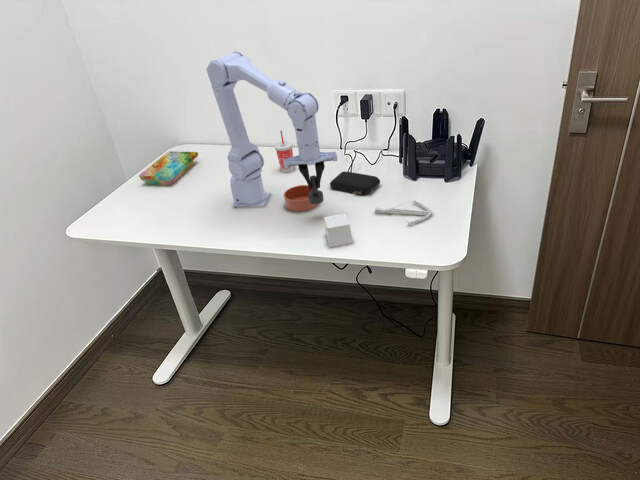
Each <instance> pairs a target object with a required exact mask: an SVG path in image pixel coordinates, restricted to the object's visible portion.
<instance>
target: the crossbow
mask: <svg viewBox="0 0 640 480" xmlns="http://www.w3.org/2000/svg"><path fill="white" fill-rule="evenodd" d="M412 202H413V203H414V204H415V205H417V206H419V207H421V208H422V209H421V210H416V209H405V208H399V207H400V206H403V205H406V204H409V203H412ZM423 209H424V210H423ZM374 213H375V214H388V215H390V214H396V215H397V216H399V217H400V218H402V219H404V220H405V221H406V222H407V225H408V226H410V225H414V224H418V223H420V222H423V221H425V220H427V219H429V218H430V217H431V215H432V211H431V210H430V209H429V208H428V207H427V206H426V205H424V204H422V203H421V202H419V201H417V200H416V199H414V200H411V201H409V202H406V203H403V204H400V205H398V206H394V207H389V208H388V207H387V208H381V207H375V209H374ZM399 214H404V215H412V216H413V215H416V216H423V217H421V218H418V219H415V220H412V221H408V220H407V219H405V218H404V217H402V216H401V215H399Z"/></svg>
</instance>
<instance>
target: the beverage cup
mask: <svg viewBox="0 0 640 480" xmlns="http://www.w3.org/2000/svg"><path fill="white" fill-rule="evenodd" d="M279 132H280V137H281V141H279V142H276V143H275V144H274V146H273V147H274V150H275V152H276V156H277V160H278V165H279V168H280V171H281V172H282V173H291V172H293V171H294V170H295V166H292V167H289V168H285V167H284V161H283V159H287V158H291V157H294V152H293V142H292V141H286V140H285V141H284V136H283V131H282V130H280V131H279Z"/></svg>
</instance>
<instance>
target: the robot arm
mask: <svg viewBox="0 0 640 480" xmlns="http://www.w3.org/2000/svg"><path fill="white" fill-rule="evenodd" d="M206 73H207V75H208V76H207V77H208V79H209V81H210V85H211V89H212V92H213V95H214V98H215V101H216V104H217V106H218V110H219V113H220V116H221V120H222V122H223V125H224V128H225V131H226V133H227V134H226V135H227V136H228V140H229V143H230V145H231V148H230V149H229V152H228V153H227V157H226V158H227V160H228V161H227V162H228V171H229V172H230V174H231V176H230V181H229V183H230V185H229V186H230V191H231V195H232V199H233V203H234V204H233V207H234V208H235V207H236V208H239V207H261V206H262V207H263V206H264V205H265V204H266V202H267V199H268V197H269V196H270V192H266V191H265V188H264V183H263V182H264V181H263V177H262V172H263V169H262V168H263V167H264V165H265V160H264V157H263V155H262V153H261V152H260V150H259V147H258V145H257V144H254V143H252V142H250V138H249V135H248V132H247V129H246V126H245V123H244V120H243V115H242V113H241V110H240V106H239V103H238V100H237V97H236V94H235V91H234V88H236V86H237V83H238V82H239V81H245V82H246V83H249V84H251V85H252V86H254V87H256V88H258V89H259V90H262V91H264V92H265V93H266V95H267V98H268V100H270V101H271V102H272V103H274V104H275V105H277V106H279V107H280V108H282V109H283V110H284V111H286V112H287V115H288V117H289V119H290V120H291V122H292V126H293V128H294V131H295V137H296V144H297V150H298V155H294V156H293V157H291V158H287V159H283V161H284V167H285V168H289V167H292V166H294V167H298V171H299V173H300V174H301V176H303V178H304V180H305V182H306V185H308V186H309V189H312V187H311V182H310V172H309V166H314V169H315V176H316V178H317V187H318V189H321V182H322V176H323V173H324V170H325V163H326V162H338V154H337V151H329V152H328V151H325V152H324V151H321V149H320V142H319V134H318V128H317V127H318V126H317V118H316V114H317V113H318V111H319V108H320V106H319V102H318V99H317V98H316V97H315V96H314V95H313V94H312V93H311V92H301V91H299V90H296V89H295V88H294V87H292V86H291V85H289V84H287V82H286V80H283V79H277V80H273V79H272V78H271V77H269V76H268V75H267V74H265V73H264V72H263V71H261V70H260V69H259V68H258V67H256V66H254V65H253V64H252V63H251V60H250V58H249V56H246V55H245V54H243V53H242V52H241V51H237V50H236V51H233V52H231V53H229V54H226V55H223V56H221V57H219V58H215V59H212V60H211V61H210V62H209V63H208V65H207V67H206Z"/></svg>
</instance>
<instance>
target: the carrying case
mask: <svg viewBox="0 0 640 480" xmlns="http://www.w3.org/2000/svg"><path fill="white" fill-rule="evenodd" d="M380 184H381V179H380V178H378V177H377V176H375V175H371V174H366V173H365V174H364V173H359V172H352V171H342V172H340V173H339V174H338V175H337V176H336V177H334V178H333V179H332V180H331V181H330V182H329V187H330V188H332V189H333V190H337V191H343V192H348V193H352V194H353V195H364V196H365V195H370V194H371V193H372V192H373V191H374V190H375V189H376V188H377V187H378V186H379V185H380Z"/></svg>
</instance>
